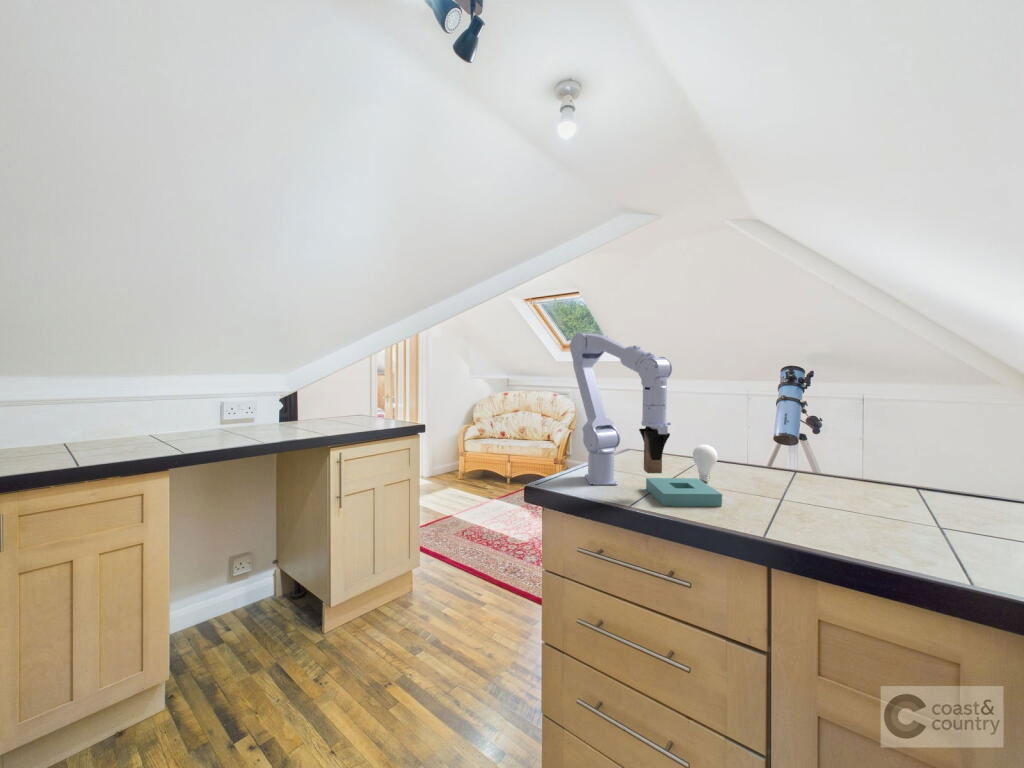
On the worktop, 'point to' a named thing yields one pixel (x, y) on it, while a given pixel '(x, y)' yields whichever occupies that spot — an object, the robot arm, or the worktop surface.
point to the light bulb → (704, 461)
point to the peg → (650, 464)
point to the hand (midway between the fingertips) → (653, 457)
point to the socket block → (683, 492)
